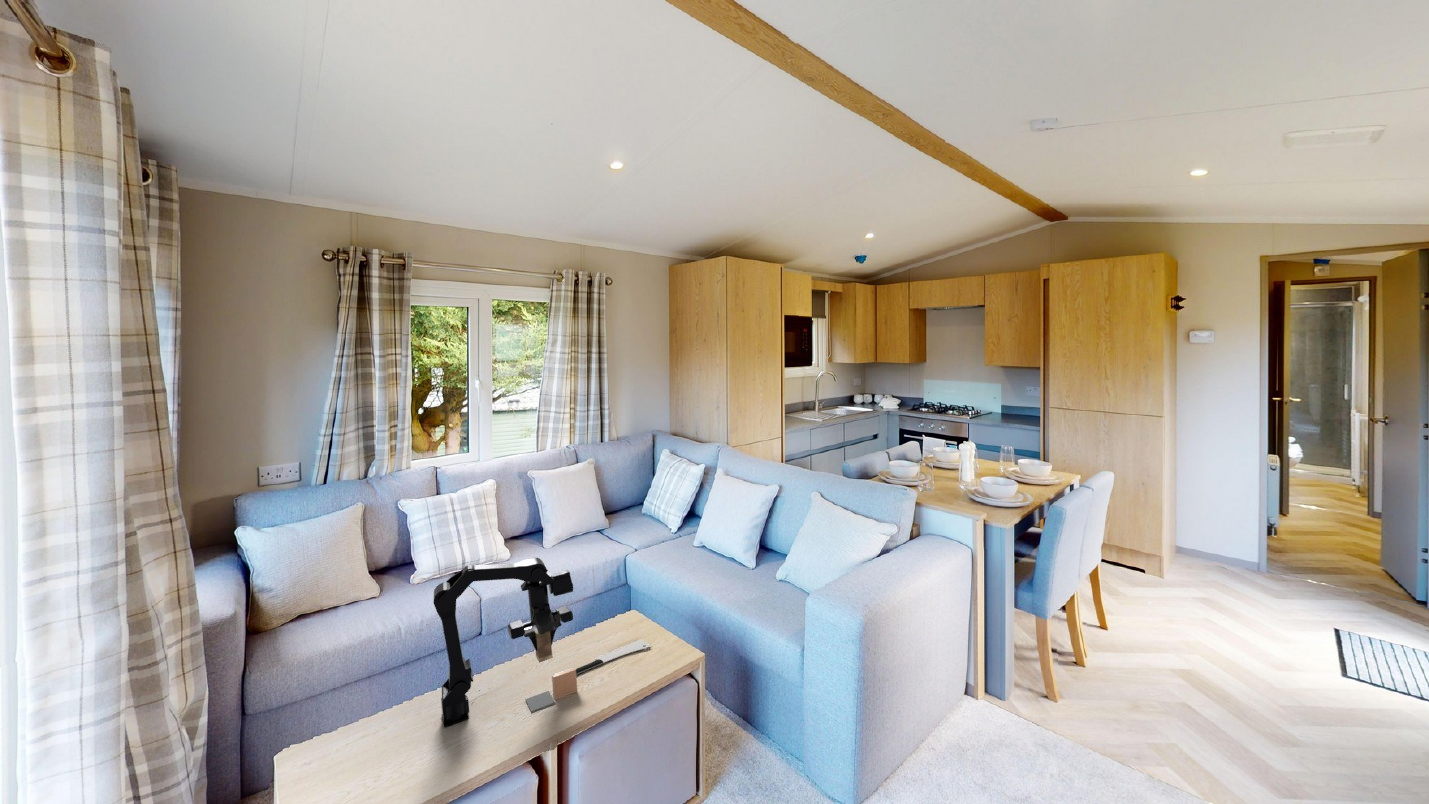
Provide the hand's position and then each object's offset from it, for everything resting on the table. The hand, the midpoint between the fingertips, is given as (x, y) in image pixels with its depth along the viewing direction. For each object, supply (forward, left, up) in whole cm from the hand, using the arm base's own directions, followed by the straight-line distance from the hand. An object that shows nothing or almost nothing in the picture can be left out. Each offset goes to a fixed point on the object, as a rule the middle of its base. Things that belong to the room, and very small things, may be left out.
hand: (543, 647), depth 168 cm
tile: (+4, -5, -14) cm, 15 cm away
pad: (-3, -5, -14) cm, 15 cm away
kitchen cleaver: (+22, +6, -15) cm, 27 cm away
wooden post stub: (0, 0, -3) cm, 3 cm away
